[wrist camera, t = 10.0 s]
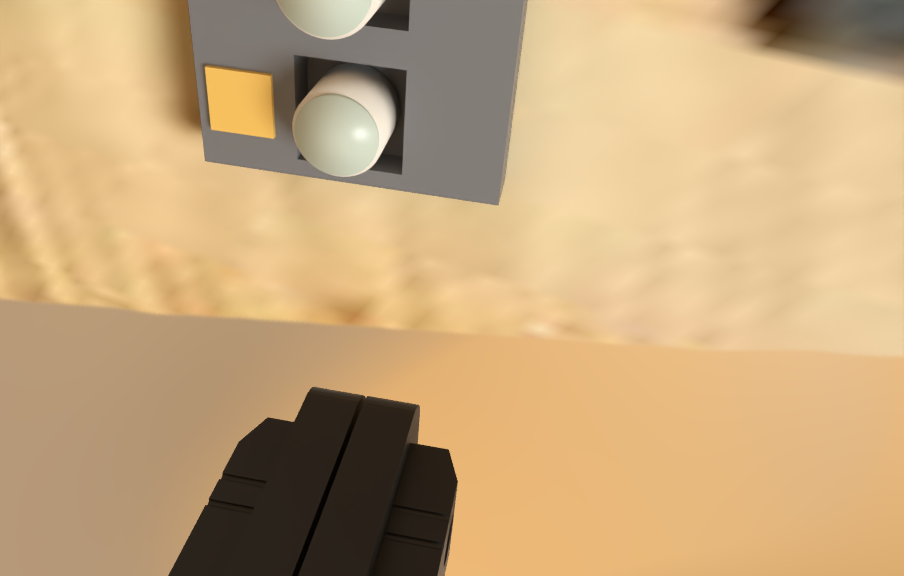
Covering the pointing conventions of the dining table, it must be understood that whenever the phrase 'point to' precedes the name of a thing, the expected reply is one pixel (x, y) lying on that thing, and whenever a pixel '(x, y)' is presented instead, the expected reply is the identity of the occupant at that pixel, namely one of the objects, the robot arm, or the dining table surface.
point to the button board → (397, 58)
